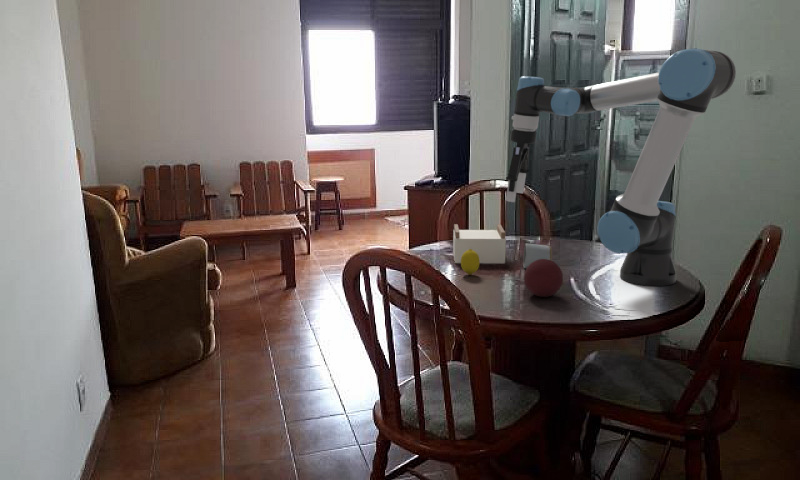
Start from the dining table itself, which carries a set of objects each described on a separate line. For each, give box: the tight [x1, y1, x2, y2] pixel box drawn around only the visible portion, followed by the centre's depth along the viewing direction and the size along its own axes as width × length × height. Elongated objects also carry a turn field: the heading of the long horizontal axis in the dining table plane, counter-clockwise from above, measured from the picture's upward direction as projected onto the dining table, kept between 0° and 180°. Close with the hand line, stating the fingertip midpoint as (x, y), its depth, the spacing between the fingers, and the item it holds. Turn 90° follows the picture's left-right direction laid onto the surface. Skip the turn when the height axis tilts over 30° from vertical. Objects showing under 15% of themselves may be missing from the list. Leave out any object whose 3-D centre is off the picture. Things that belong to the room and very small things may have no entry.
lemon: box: [460, 249, 481, 276], centre depth 187 cm, size 6×6×8 cm
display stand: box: [452, 223, 507, 264], centre depth 207 cm, size 14×16×10 cm
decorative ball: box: [523, 259, 564, 298], centre depth 166 cm, size 10×10×10 cm
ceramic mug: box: [522, 243, 553, 269], centre depth 196 cm, size 11×8×8 cm
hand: (514, 197), depth 197 cm, fingers open, 13 cm apart
